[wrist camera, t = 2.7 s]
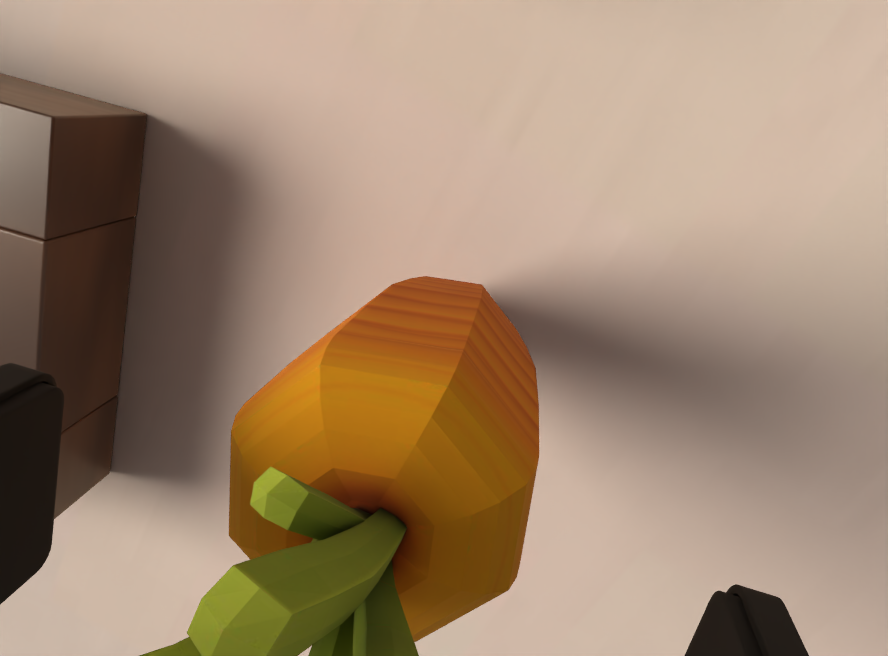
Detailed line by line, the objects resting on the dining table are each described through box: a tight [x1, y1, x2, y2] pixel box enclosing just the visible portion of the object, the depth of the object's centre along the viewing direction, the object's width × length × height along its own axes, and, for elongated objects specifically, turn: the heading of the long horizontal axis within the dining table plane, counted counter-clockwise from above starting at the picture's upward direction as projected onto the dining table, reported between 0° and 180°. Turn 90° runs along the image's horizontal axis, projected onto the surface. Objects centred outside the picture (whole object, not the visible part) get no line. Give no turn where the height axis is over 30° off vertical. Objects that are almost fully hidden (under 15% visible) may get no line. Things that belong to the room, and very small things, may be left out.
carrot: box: [140, 276, 539, 656], centre depth 13 cm, size 5×5×15 cm
